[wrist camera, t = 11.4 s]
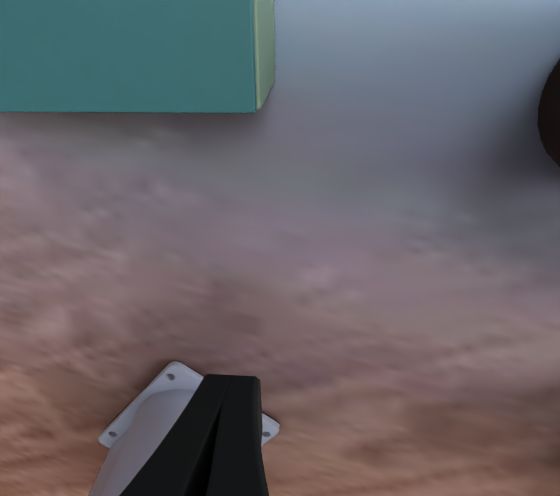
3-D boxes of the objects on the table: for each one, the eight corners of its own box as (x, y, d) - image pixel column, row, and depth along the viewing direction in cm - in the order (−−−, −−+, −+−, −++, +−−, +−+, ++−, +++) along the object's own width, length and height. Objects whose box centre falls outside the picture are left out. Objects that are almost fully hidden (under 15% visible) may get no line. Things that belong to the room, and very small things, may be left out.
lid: (257, 110, 12) (255, 113, 12) (-100, 109, 13) (-111, 111, 13) (248, -133, 10) (246, -138, 10) (-192, -116, 11) (-209, -120, 10)
